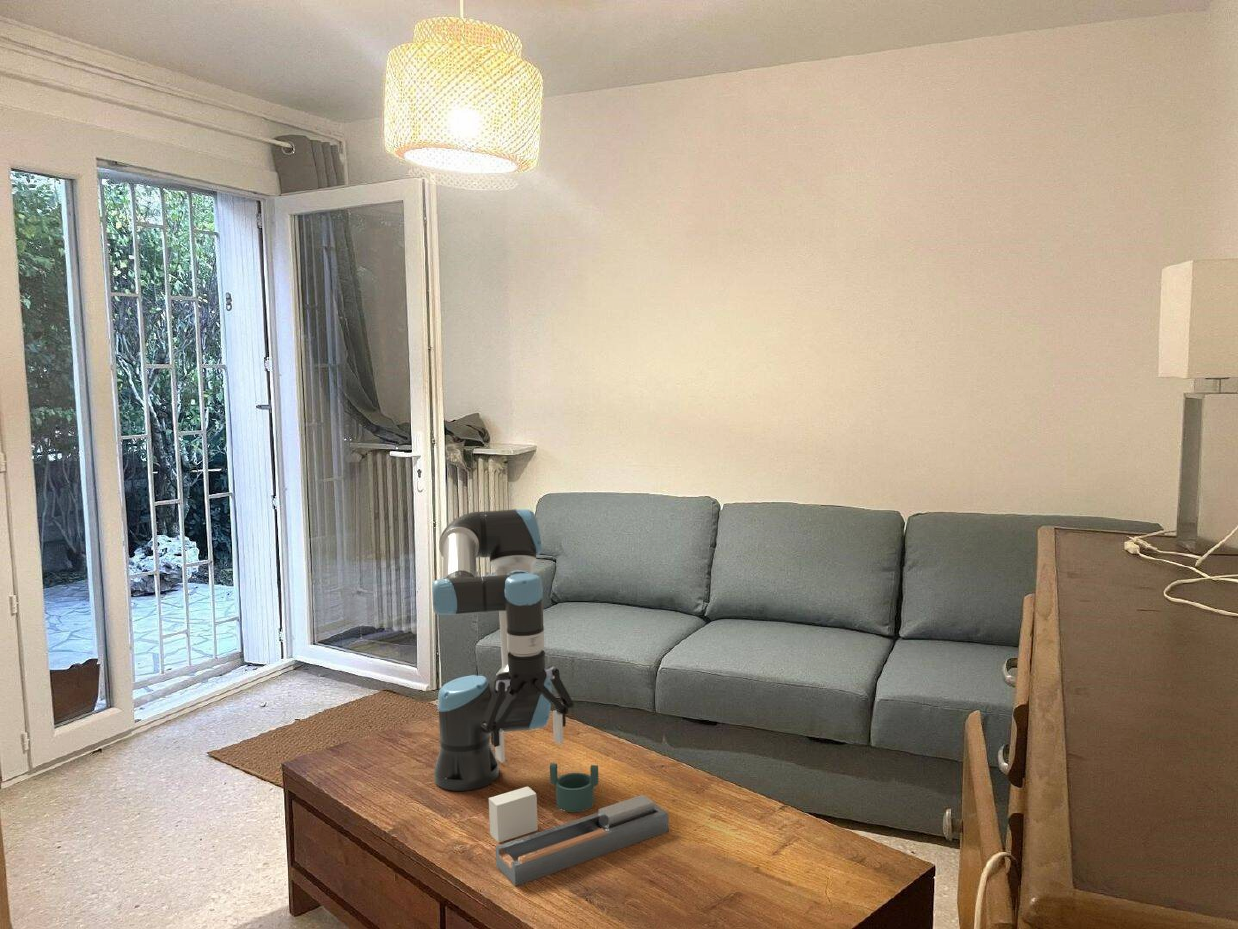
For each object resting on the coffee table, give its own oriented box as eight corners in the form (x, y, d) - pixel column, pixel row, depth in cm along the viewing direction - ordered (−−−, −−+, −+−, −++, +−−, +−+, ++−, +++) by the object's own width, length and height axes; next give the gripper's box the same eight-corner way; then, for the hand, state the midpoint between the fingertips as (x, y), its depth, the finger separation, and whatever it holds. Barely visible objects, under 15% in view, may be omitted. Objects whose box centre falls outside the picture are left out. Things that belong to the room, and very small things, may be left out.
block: (490, 835, 187) (488, 798, 186) (529, 822, 191) (527, 786, 190) (498, 843, 183) (496, 805, 182) (537, 830, 188) (536, 793, 187)
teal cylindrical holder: (602, 805, 198) (601, 766, 197) (565, 816, 193) (563, 776, 192) (583, 790, 206) (581, 752, 205) (546, 800, 201) (545, 761, 200)
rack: (496, 866, 175) (495, 836, 174) (645, 814, 193) (645, 788, 192) (515, 886, 167) (514, 856, 167) (668, 831, 186) (668, 803, 185)
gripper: (478, 669, 172) (482, 775, 174) (588, 643, 186) (590, 741, 189) (461, 659, 178) (466, 761, 181) (569, 634, 192) (572, 729, 195)
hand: (529, 751), depth 185 cm, fingers open, 13 cm apart
